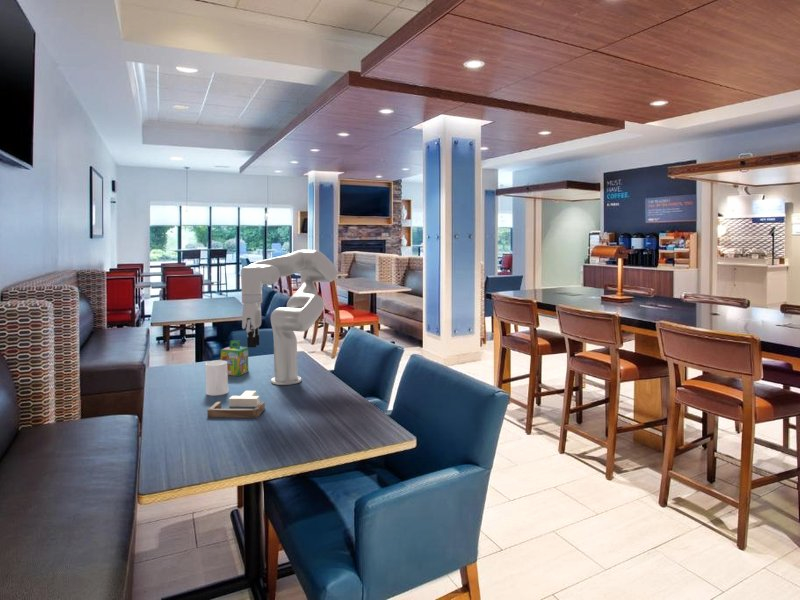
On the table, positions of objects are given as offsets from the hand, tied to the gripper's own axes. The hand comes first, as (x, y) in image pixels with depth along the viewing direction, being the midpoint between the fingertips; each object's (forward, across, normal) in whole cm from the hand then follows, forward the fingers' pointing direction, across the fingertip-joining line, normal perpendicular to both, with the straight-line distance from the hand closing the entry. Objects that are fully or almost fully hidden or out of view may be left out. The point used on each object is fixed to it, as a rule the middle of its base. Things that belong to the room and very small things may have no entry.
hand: (253, 345), depth 201 cm
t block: (+19, +10, 0) cm, 22 cm away
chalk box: (+20, -32, -18) cm, 41 cm away
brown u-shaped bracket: (+19, +22, 0) cm, 29 cm away
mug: (+19, 0, -15) cm, 25 cm away
